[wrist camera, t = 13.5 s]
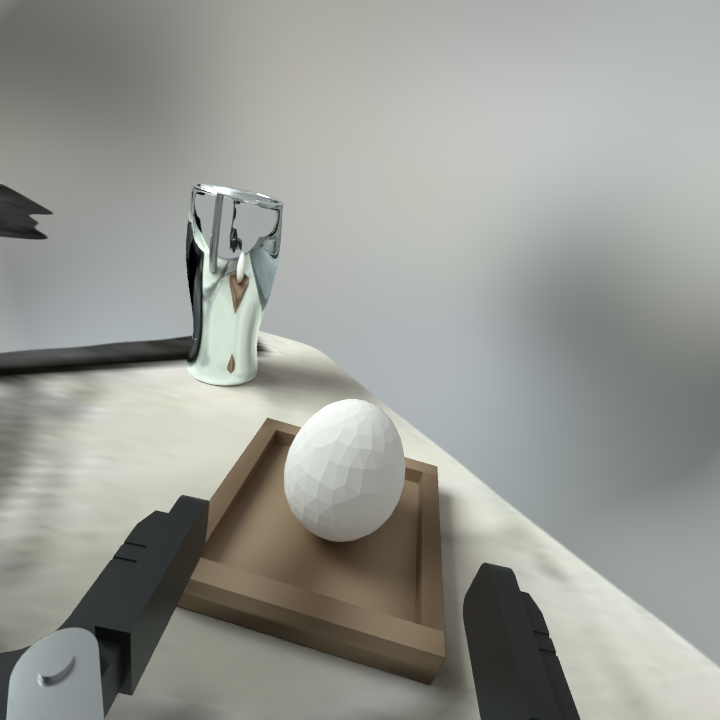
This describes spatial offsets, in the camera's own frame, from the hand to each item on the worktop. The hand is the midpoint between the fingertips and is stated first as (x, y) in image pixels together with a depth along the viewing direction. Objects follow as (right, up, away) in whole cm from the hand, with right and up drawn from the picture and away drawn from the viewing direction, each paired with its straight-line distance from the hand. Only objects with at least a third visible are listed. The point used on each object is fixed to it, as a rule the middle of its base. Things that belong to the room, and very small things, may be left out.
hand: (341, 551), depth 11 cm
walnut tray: (-1, -4, +11) cm, 12 cm away
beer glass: (-12, +5, +24) cm, 27 cm away
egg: (-1, -4, +10) cm, 11 cm away
